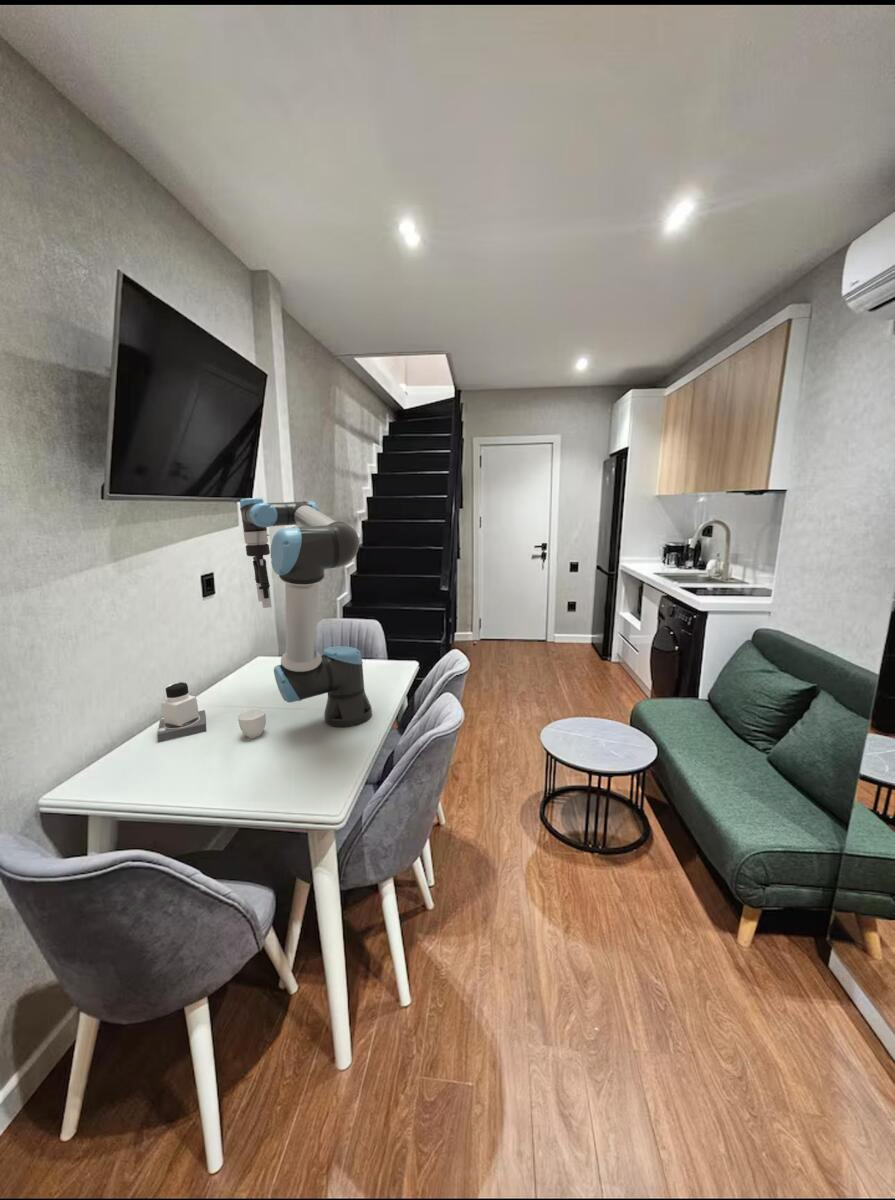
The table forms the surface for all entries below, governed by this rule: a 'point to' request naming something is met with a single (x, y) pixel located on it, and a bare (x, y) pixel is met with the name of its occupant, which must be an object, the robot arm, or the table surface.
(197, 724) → the grey square dish
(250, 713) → the cup
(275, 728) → the table surface
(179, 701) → the medicine bottle
